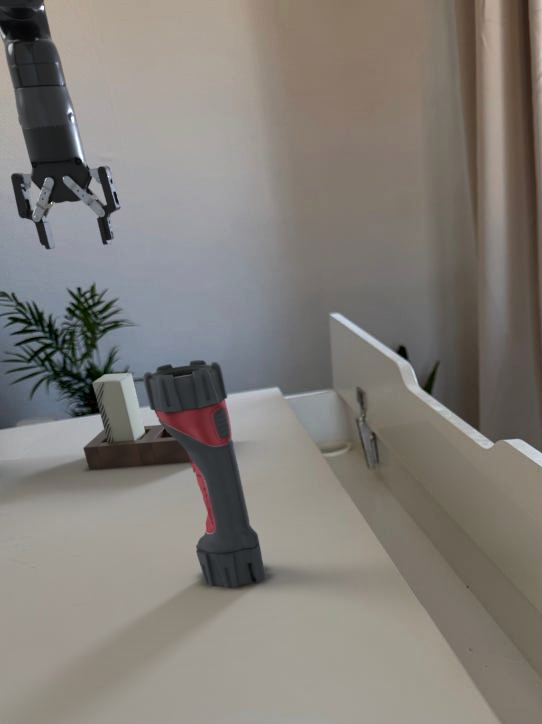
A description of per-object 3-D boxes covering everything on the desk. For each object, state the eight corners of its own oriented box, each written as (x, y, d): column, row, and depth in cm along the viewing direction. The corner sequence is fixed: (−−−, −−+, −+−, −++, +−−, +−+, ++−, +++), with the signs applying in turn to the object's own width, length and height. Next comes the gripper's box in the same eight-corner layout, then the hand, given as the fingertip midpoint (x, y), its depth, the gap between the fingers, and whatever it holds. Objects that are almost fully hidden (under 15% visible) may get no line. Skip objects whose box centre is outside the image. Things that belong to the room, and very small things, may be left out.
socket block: (89, 473, 146) (83, 447, 144) (109, 454, 155) (103, 429, 153) (210, 464, 146) (204, 437, 144) (222, 445, 155) (218, 420, 153)
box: (124, 456, 153) (104, 373, 147) (151, 455, 152) (132, 371, 147) (111, 466, 148) (90, 381, 142) (140, 465, 148) (119, 379, 142)
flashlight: (186, 575, 108) (139, 365, 98) (256, 561, 110) (217, 354, 100) (194, 601, 102) (144, 380, 91) (269, 586, 104) (228, 368, 93)
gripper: (107, 120, 142) (133, 240, 149) (9, 128, 142) (40, 247, 149) (91, 120, 135) (119, 245, 143) (-12, 128, 135) (21, 253, 143)
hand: (78, 246), depth 146 cm, fingers open, 8 cm apart
